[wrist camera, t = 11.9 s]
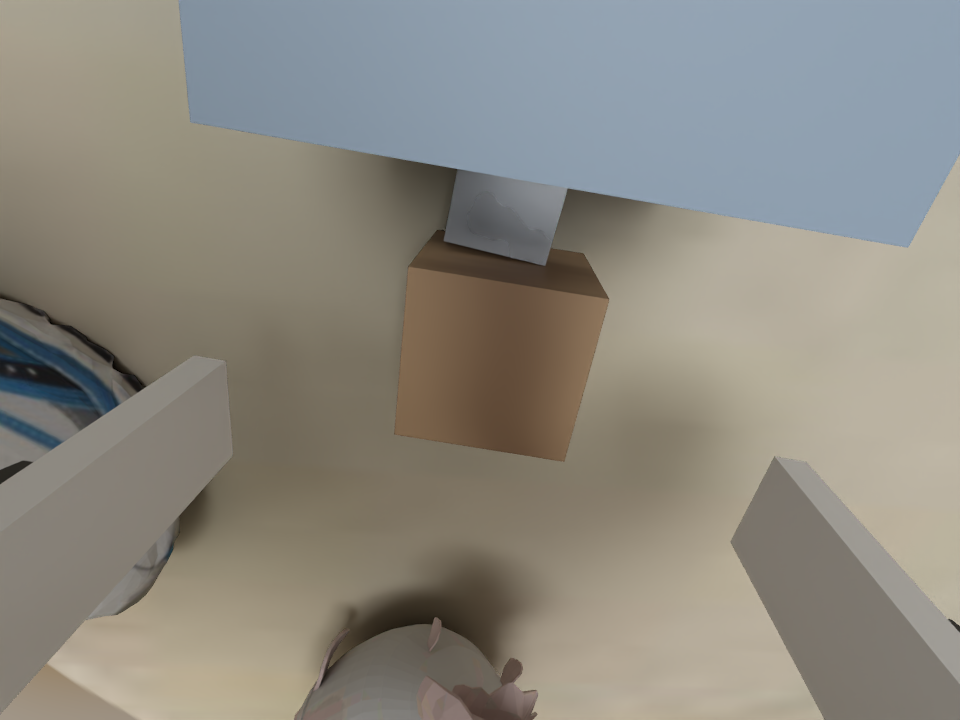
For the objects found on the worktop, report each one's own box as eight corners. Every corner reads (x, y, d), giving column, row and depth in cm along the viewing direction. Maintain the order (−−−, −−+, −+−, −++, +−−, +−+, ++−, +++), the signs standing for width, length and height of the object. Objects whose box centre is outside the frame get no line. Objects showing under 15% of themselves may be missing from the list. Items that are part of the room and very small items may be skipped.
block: (423, 360, 18) (394, 434, 14) (437, 229, 16) (408, 266, 12) (552, 381, 18) (563, 461, 14) (583, 253, 16) (609, 299, 12)
